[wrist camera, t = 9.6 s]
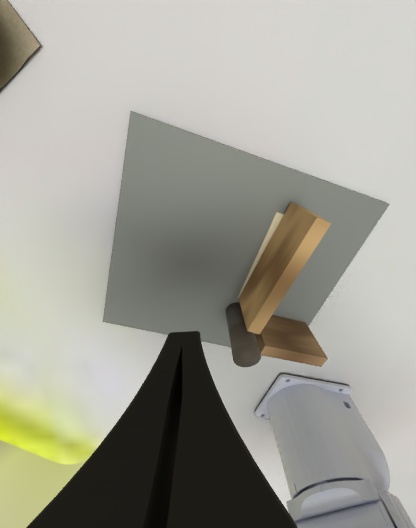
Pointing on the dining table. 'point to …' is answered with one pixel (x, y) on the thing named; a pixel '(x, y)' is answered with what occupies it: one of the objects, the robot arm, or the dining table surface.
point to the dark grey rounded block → (272, 340)
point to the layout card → (216, 232)
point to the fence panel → (280, 264)
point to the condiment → (13, 42)
